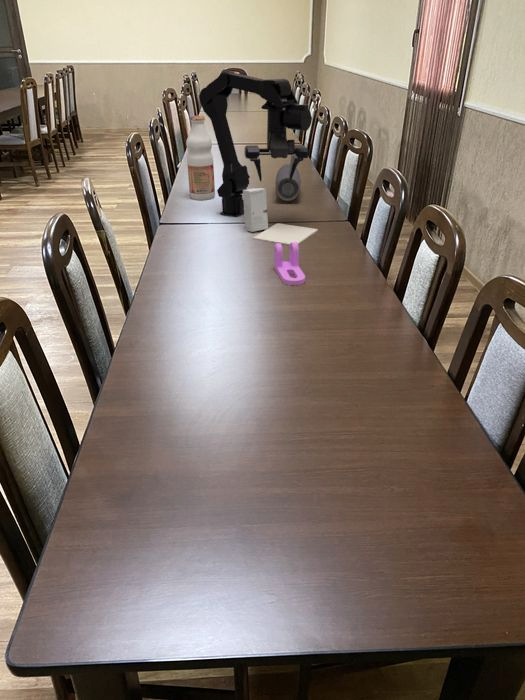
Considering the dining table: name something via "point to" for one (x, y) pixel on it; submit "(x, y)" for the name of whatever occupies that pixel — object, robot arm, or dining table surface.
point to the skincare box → (255, 209)
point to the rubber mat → (285, 234)
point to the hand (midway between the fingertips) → (275, 180)
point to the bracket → (288, 265)
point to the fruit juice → (200, 161)
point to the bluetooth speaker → (287, 183)
